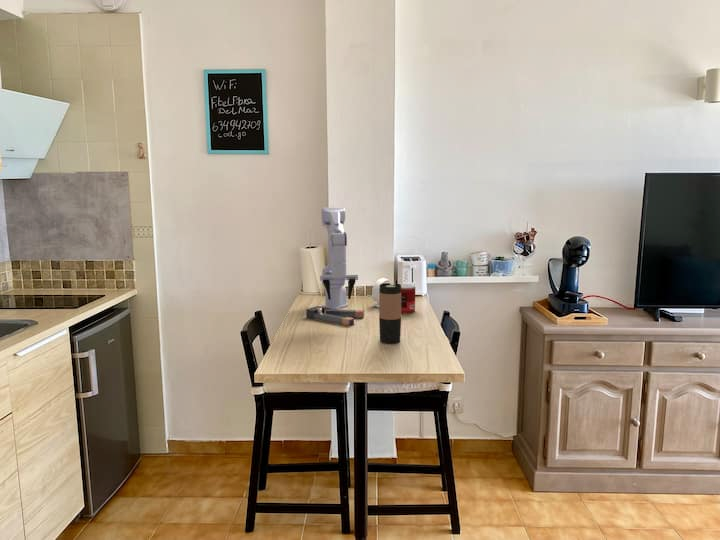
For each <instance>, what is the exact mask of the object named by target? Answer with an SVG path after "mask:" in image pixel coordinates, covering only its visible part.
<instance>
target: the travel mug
mask: <svg viewBox="0 0 720 540" xmlns="http://www.w3.org/2000/svg"><path fill="white" fill-rule="evenodd" d="M378 308H379V310H378V312H379V313H378V318H379V319H378V321H379V322H378V323H379V326H378V327H379V341H380V342H381V343H382V344H388V345H392V344H399V343H401V329H402V327H401V325H402V313H401V284H399V283H395V284H391V283H389V282H386V283H383V284H380V291H379V307H378Z"/></svg>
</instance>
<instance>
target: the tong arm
mask: <svg viewBox="0 0 720 540" xmlns="http://www.w3.org/2000/svg"><path fill="white" fill-rule="evenodd" d="M325 313H326V314H331V315H336V316H342V317H350V318H354V319H355V318H357V319H364V317H365V310H364V309H330V308H326V309H325Z"/></svg>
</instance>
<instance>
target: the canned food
mask: <svg viewBox="0 0 720 540" xmlns="http://www.w3.org/2000/svg"><path fill="white" fill-rule="evenodd" d="M400 285H401V314H412V313H415V311H416V285H414V284H411V283H405V284H404V283H403V284H402V283H401V284H400Z"/></svg>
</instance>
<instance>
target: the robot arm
mask: <svg viewBox="0 0 720 540" xmlns="http://www.w3.org/2000/svg"><path fill="white" fill-rule="evenodd" d="M345 221H346V209H345V207H344V206H342V207H322V208H321V224H322V225H321V226H323V227H325V228H326V229H327V252H328V253H327V256H328V257H327V258H328V260H327V261H328V264H327V265H326V266H324V267H323V268H322V270H321V271H322V272H321V275H319V281H320V282H321V285H322V286H323V287H324V288H325V293H324V294H325V295H324V296H325V298H324V299H325V304H324V305H321V306H320V307H325V309H335V310H339V309H341V308H344V307H347V306H349V303H347V299H348V300H351V297H352V293H353V289H354V286H355V284H356V281H358V280H359V275H358V274H347V246H348V236H347V232H346V231H345V230H344V229H345V228H344V224H345ZM346 281H347V283H348V284H347V288H348V289H346V287H345V285H346V284H345V283H346ZM347 290H348V294H347Z"/></svg>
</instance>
